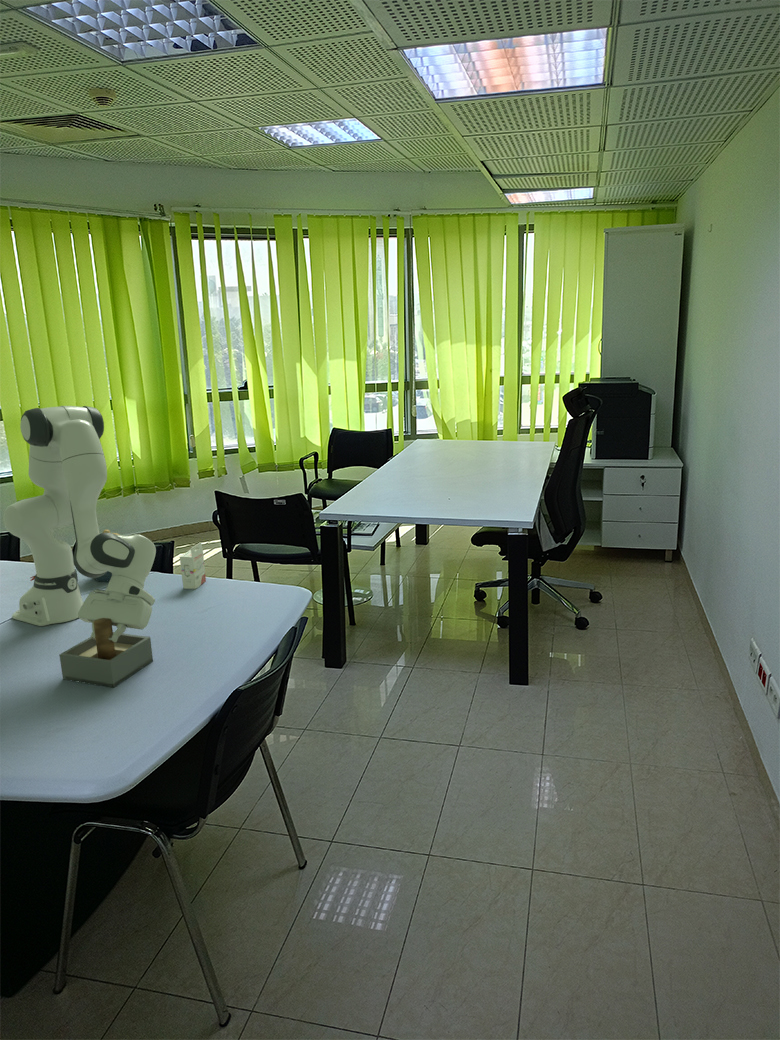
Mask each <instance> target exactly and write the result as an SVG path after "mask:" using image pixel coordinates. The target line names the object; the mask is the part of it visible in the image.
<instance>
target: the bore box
mask: <svg viewBox="0 0 780 1040" xmlns="http://www.w3.org/2000/svg"><path fill="white" fill-rule="evenodd" d="M114 632H115V631H113V633H114ZM114 645H115V653H116V657H114V658H112V659H111V660H106V659H99V658H98V654H97V646H96V640H95V639H92V638H91V636H90V637H88V638H87V639H86V638H85V640H82V641H80V642H79V643H78V644H75V645H73V646H72V647H70V648H69V649H67V650H64V651H63V652H61V653H60V654H59V655H58V656H59V661H60V669H61V675H62V680H63V679H65V681H70V680H72V681H71V682H76V681H79V682H78V683H82V682H85V683H84V684H88V683H90V684H89V685H94V684H96V685H95V686H100V685H102V687H108V688H112V689H113V688H117V686H118V685H120V684H121V683H123V682H124V681H126V680H127V679H129V678H131V677H132V676H133V675H134V674H136V673H137V672H138V673H139V671H141V670H142V669H144V668H145V667H146V666H148V665H149V664H151V663H153V661H154V659H153V658H154V657H153V649H152V640H151V637H150V636H144V635H139V634H138V635H137V634H130V633H122V634H121V635H120V636H119V637H118V640H117V642H114Z"/></svg>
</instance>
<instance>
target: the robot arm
mask: <svg viewBox="0 0 780 1040" xmlns="http://www.w3.org/2000/svg"><path fill="white" fill-rule="evenodd" d="M19 425H20V428H19V429H20V433H21V436H22V438H23V440H24V441H25V442H26V443H27V444H28V445H29V450H28V451H29V452H28V453H29V454H28V455H29V456H28V477H29V479H30V481H31V482H32V483H33V485H35V486H38V487H39V488H42V489H44V490H43V494H42V495H37V496H33V497H28V498H25V499H20V500H18V501H16V502H14V503H12V504H10V505H8V506H6V508H5V509H4V511H3V515H2V516H3V517H2V519H3V524H4V527H5V529H6V530H7V531H8V532H9V533H10V534H11V535H13V536H15V537H16V538H19V539H20V540H22V541H24V543H25V544H26V545H27V547H28V548H29V551H30V552H31V555H32V559H33V564H34V569H35V575H32V576H30V577H29V579H30V582H32V581H33V585H32V587H31V588H30V589H28V590H27V591H26V592H25V593H24V594H23V595H22V596H21V597H20V598H19V601H18V603H19V604H18V607H19V609H18V610H16V611H15V612H14V613H12V615H11V616H12V617H11V618H12V620H13V619H14V620H16V621H20V622H24V623H27V624H30V625H34V626H38V627H45V626H48V625H53V624H61V623H66V622H71V621H74V620H76V619H80V620H81V621H83V622H84V623H91V630H92V632H91V635H90V637H91V638H92V639H95V632H94V624H93V622H94V621H95V620H97V619H100V618H109V619H111V622H112V627H116V630H115V631H113V632H114V633H113V634H110V637H109V638H108V640H109V641H111V642H117V640H118V637H119V636H120V635H121V634H122V633H123V634H125V633H124V632H125V631H126V629H127V628H129V629H134V630H135V629H136V630H144V629H145V628H146V627H148V624H149V622H150V619H151V616H152V613H153V607H152V606H153V605H155V603H156V599H155V598H154V597H153V595H151V594H150V593H149V592H147V591H146V590H144V586H145V581H146V578H147V577H148V576H149V574H150V573H151V569H152V567H153V564H154V561H155V557H156V553H157V549H156V545H155V544H154V542H153V541H152V540H151V539H150V538H149V537H146V536H145V535H141V534H137V533H135V534H131V535H123V534H122V535H121V534H120V535H116V534H113V533H114V532H110V533H108V532H106V533H103V532H102V533H100V528H99V523H98V516H97V503H98V500H99V497H100V494H101V492H102V491H103V488H104V487H105V484H106V483H107V481H108V480H107V479H108V468H107V462H106V457H105V453H104V449H103V445H102V443H101V440H100V439H101V438H102V436H103V435H104V431H105V422H104V418H103V415H102V413H101V412H100V410H98V408H96V407H92V406H88V405H87V406H86V405H84V406H77V405H60V406H50V407H43V408H39V407H35V408H30V409H27V410H25V411H24V412H23V413H22V415H21V417H20V424H19ZM68 526H73V529H74V531H73V532H74V537H75V548H74V552H73V549H72V547H71V546H70V544H69V543H68V542H66V541H63V540H60V539H56V538H55V535H54V530H58V529H61V528H64V527H68ZM108 571H109V572H111V573H112V577H111V579H110V581H108V584H107V586H106V589H99V588H97V589H94V590H93V591H90V592H89V593H88V596H87V597H86V598H85V600H84V601H83V598H82V594H81V591H80V586H79V584H78V581H79V579H78V578H79V577H78V573H80V574H81V576H84V577H85V578H90V579H94V578H97V577H100V576H103V575H104V574H105V573H106V572H108ZM95 640H96V639H95Z"/></svg>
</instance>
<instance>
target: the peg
mask: <svg viewBox="0 0 780 1040" xmlns="http://www.w3.org/2000/svg"><path fill="white" fill-rule="evenodd" d="M93 624H94V632H95V639H96V646H97V654H98V658H99V659H106V660H111V659H112V658H114V657H116V653H115V645H114V642H111V641H109V640H108V638H109V637H110V634H113V632H114V631H113V626H112V622H111V619H109V618H100V619H97V620H95V621H94V622H93Z"/></svg>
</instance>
